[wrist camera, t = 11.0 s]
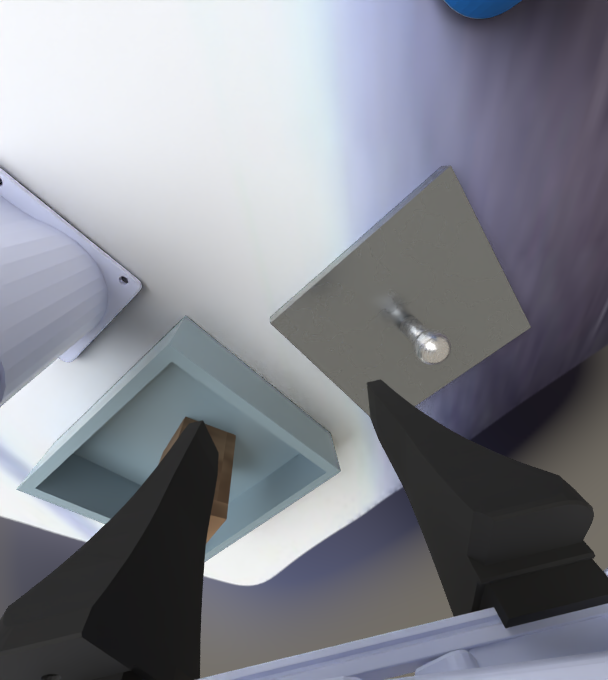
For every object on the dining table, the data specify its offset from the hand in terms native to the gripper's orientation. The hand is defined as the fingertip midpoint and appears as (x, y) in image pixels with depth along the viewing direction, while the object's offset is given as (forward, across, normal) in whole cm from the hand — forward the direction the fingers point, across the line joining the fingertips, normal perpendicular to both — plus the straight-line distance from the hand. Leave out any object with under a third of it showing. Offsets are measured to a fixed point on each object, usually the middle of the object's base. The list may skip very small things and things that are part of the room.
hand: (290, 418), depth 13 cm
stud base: (+9, -9, +2) cm, 13 cm away
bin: (+9, +9, +9) cm, 16 cm away
